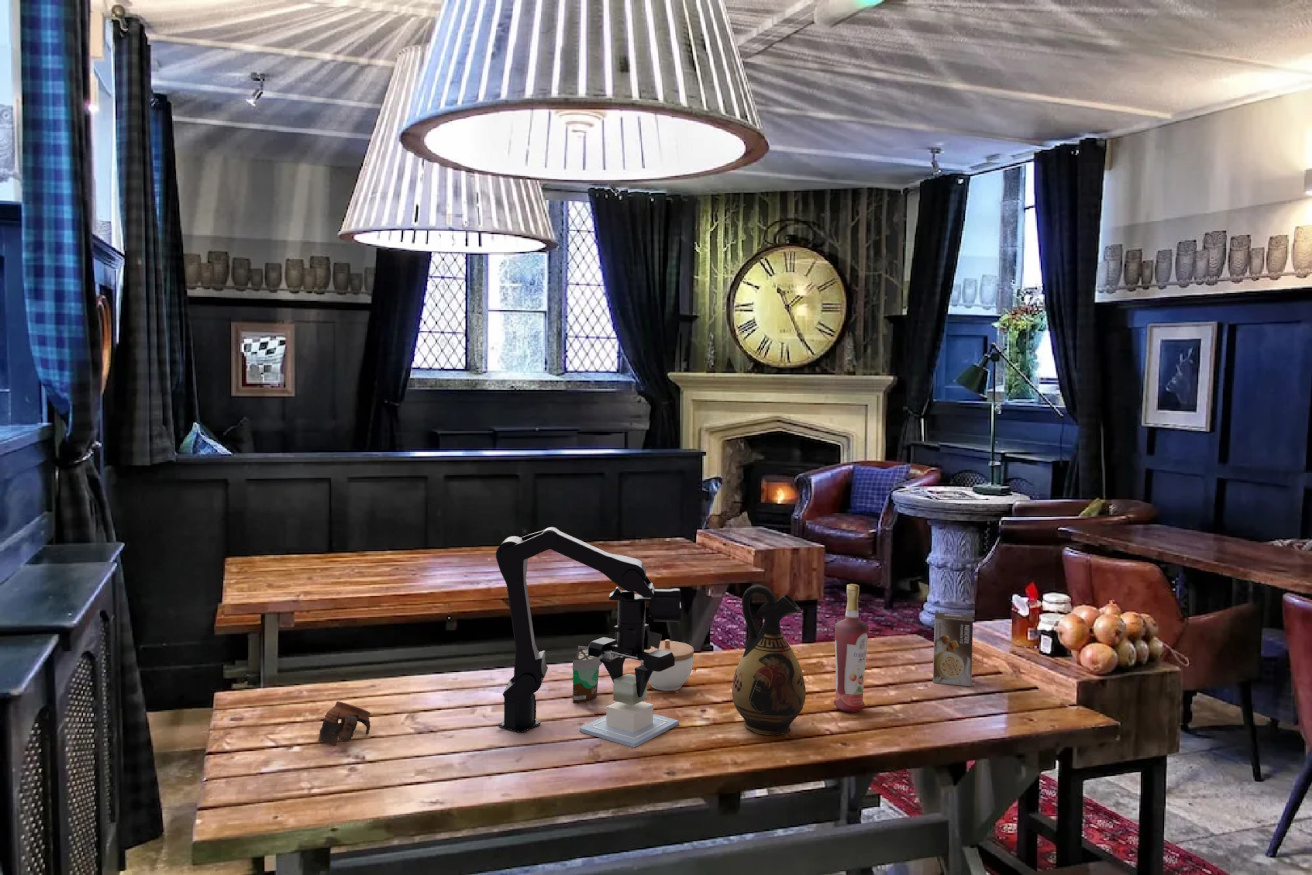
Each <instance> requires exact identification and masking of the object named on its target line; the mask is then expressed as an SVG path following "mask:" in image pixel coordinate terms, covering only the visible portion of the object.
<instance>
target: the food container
mask: <svg viewBox="0 0 1312 875" xmlns="http://www.w3.org/2000/svg"><path fill="white" fill-rule="evenodd" d="M601 658H602V655H601V656H600V657H593V656H589V655H588V646H583V645H582V646H581V645H577V654H576V655H575V659H574V660H572V703H573V704H582V703H583V704H584V703H588V702H592V701H594V700H595V699H597V697H598V686H599V685H598V684H599V675H600V666H601V665H602V664H603V663H602V662H600V659H601Z"/></svg>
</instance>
